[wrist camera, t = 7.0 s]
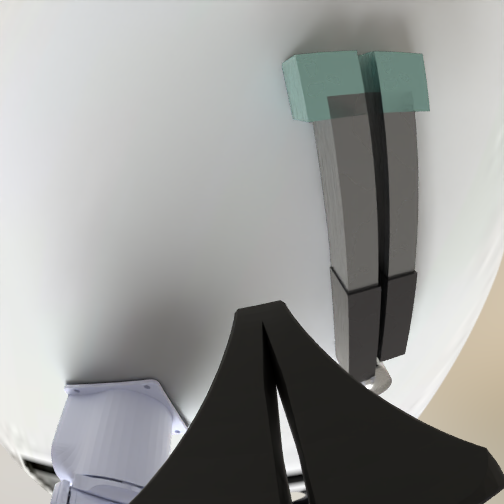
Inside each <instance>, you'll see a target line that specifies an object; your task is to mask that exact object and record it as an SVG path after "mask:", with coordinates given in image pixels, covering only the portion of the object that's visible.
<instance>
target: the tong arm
mask: <svg viewBox="0 0 504 504" xmlns="http://www.w3.org/2000/svg"><path fill="white" fill-rule="evenodd" d="M282 69H283V73H284V78H285V83H286V87H287V92H288V97H289V102H290V107H291V112H292V117H293V119H294V120H300V121H305V122H313V128H314V134H315V140H316V146H317V152H318V159H319V165H320V172H321V179H322V187H323V194H324V202H325V210H326V219H327V227H328V237H329V246H330V257H331V267H330V274H331V286H332V299H333V314H334V330H335V351H336V357H337V360H338V362H339V365H340V366H341V367H342V368H343V369H344V370H345V371H347V372H348V373H349V374H350V375H351V376H353V377H354V378H355V379H356V380H358V381H359V382H360V383H362V384H363V385H364V386H366V387H367V388H368V389H370V390H371V391H372V392H374V393H375V394H377V395H379V394H381V393H383V392H384V391H386V390H387V389H388V388H389V386H390V385H391V383H392V379H391V377H390V375H389V373H388V371H387V370H386V368H385V366H384V364H383V362H380V361H379V359H378V357H377V350H378V338H379V324H380V306H381V286H380V284H379V283H378V222H377V201H376V186H375V173H374V162H373V152H372V143H371V134H370V126H369V119H368V112H367V105H366V99H365V93H364V87H363V81H362V75H361V70H360V65H359V60H358V55H357V50H356V51H333V52H319V53H308V54H298V55H294V56H293V57H291V58H289V59H288V60H287V61H285V62H284V63H282Z"/></svg>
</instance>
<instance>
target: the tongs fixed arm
mask: <svg viewBox="0 0 504 504" xmlns="http://www.w3.org/2000/svg"><path fill="white" fill-rule="evenodd" d="M358 60H359V65H360V70H361V75H362V81H363V87H364V93H365V99H366V105H367V112H368V119H369V126H370V134H371V143H372V152H373V162H374V173H375V186H376V201H377V222H378V283H379V284H380V286H381V306H380V324H379V338H378V350H377V357H378V359H379V361H380V362H382V361H385V360H388V359H391V358H394V357H397V356H400V355H403V354H405V351H406V346H407V341H408V335H409V330H410V324H411V318H412V311H413V304H414V297H415V289H416V280H417V272H416V271H415V270H414V269H415V258H416V244H417V224H418V156H417V137H416V124H415V112H414V111H430V108H429V98H428V89H427V81H426V74H425V67H424V61H423V55H422V54H417V53H404V52H384V51H373V52H370V53H366V54H363V55H359V56H358Z"/></svg>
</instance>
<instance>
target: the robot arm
mask: <svg viewBox="0 0 504 504" xmlns="http://www.w3.org/2000/svg"><path fill="white" fill-rule="evenodd" d="M276 386H277V389H278V392H279V395H280V398H281V401H282V405H283V408H284V411H285V414H286V417H287V420H288V423H289V426H290V429H291V432H292V435H293V438H294V441H295V444H296V448H297V451H298V455H299V459H300V464H301V468H302V473H303V477H304V482H305V486H306V491H307V496H308V500H309V504H484V503H485V502H486V501H488V500H489V499H491V498H492V497H493V496H495V495H496V494H497V493H499V492H500V491H501V490H502V489H504V474H503V472H502V470H501V468H500V466H499V465H498V463H497V462H496V460H495V459H494V458H493V457H492V455H491V454H490V453H489V452H488V450H487V448H484V447H481V446H478V445H475V444H473V443H470V442H467V441H464V440H462V439H459V438H457V437H454V436H452V435H449V434H447V433H445V432H442V431H440V430H438V429H436V428H434V427H432V426H430V425H427V424H426V423H424V422H422V421H420V420H418V419H416V418H414V417H413V416H411V415H409V414H407V413H406V412H404V411H402V410H401V409H399V408H397V407H395V406H394V405H392V404H390V403H389V402H387V401H386V400H384V399H383V398H381V397H380V396H378V395H377V394H375V393H374V392H372V391H371V390H370V389H368V388H367V387H366V386H364V385H363V384H362V383H360V382H359V381H358V380H356V379H355V378H354V377H353V376H351V375H350V374H349V373H348V372H347V371H345V370H344V369H343V368H342V367H341V366H340V365H339V364H337V363H336V362H335V361H334V360H333V359H332V358H331V357H330V356H329V355H328V354H327V353H326V352H325V351H324V350H323V349H322V348H321V347H320V346H319V345H318V344H317V343H316V342H315V341H314V340H313V339H312V338H311V337H310V336H309V335H308V333H307V332H306V331H305V330H304V329H303V328H302V326H301V325H300V324H299V323H298V321H297V320H296V319H295V318H294V316H293V315H292V314H291V312H290V311H289V309H288V308H287V306H286V304H285V303H284V302H282V301H281V300H280V301H275V302H270V303H266V304H261V305H256V306H251V307H246V308H241V309H238V310H237V311H236V312H235V316H234V321H233V326H232V330H231V334H230V337H229V340H228V344H227V347H226V349H225V352H224V355H223V358H222V361H221V363H220V366H219V369H218V371H217V373H216V375H215V378H214V380H213V382H212V385H211V387H210V389H209V391H208V393H207V395H206V397H205V399H204V401H203V403H202V405H201V407H200V409H199V411H198V413H197V414H196V416H195V418H194V420H193V421H192V423H191V425H190V426H189V428H187V426H186V425H185V423H184V422H183V420H182V419H181V417H180V416H179V414H178V413H177V411H176V409H175V408H174V406H173V405H172V403H171V401H170V400H169V398H168V397H167V395H166V393H165V392H164V390H163V388H162V387H161V385H160V383H159V382H158V381H156V380H154V379H150V380H140V381H129V382H116V383H100V384H78V385H65V387H64V390H65V392H66V393H67V394H68V398H67V401H66V403H65V406H64V409H63V412H62V415H61V418H60V421H59V424H58V427H57V430H56V433H55V436H54V439H53V443H52V449H51V457H52V464H53V467H54V470H55V472H56V474H57V476H58V477H59V479H60V480H61V481H62V482H58V483H56V484H55V487H54V490H53V494H52V499H51V504H292V500H291V494H290V490H289V485H288V480H287V475H286V470H285V464H284V459H283V452H282V443H281V432H280V421H279V410H278V400H277V390H276ZM172 434H184V436H183V437H182V439H181V440H180V442H179V444H178V445H177V447H176V448H175V449H174V451H173V452H172V454H171V455H170V448H171V435H172Z"/></svg>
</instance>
